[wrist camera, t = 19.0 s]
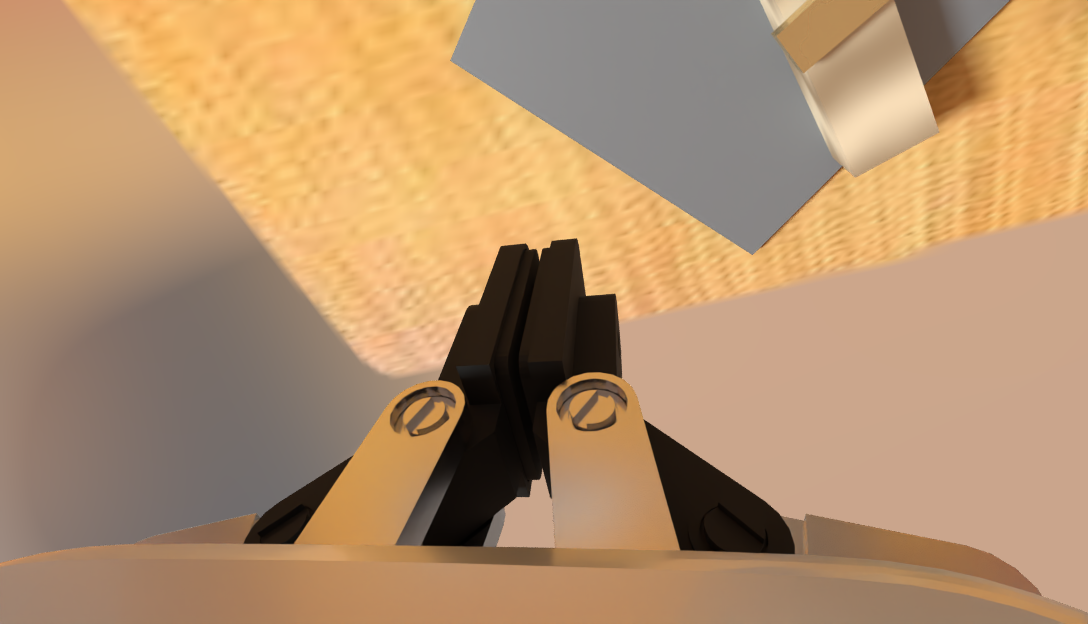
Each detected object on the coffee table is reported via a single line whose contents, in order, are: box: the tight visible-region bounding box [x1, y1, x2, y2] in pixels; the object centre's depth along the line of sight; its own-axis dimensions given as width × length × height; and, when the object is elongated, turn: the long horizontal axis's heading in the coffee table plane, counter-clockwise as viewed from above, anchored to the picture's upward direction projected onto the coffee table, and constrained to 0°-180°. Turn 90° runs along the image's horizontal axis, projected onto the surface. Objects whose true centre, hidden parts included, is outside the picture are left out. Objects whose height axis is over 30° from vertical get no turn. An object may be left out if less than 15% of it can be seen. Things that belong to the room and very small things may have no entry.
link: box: [760, 0, 939, 178], centre depth 26 cm, size 18×6×4 cm, turn 38°
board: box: [450, 0, 1010, 255], centre depth 29 cm, size 20×25×1 cm
